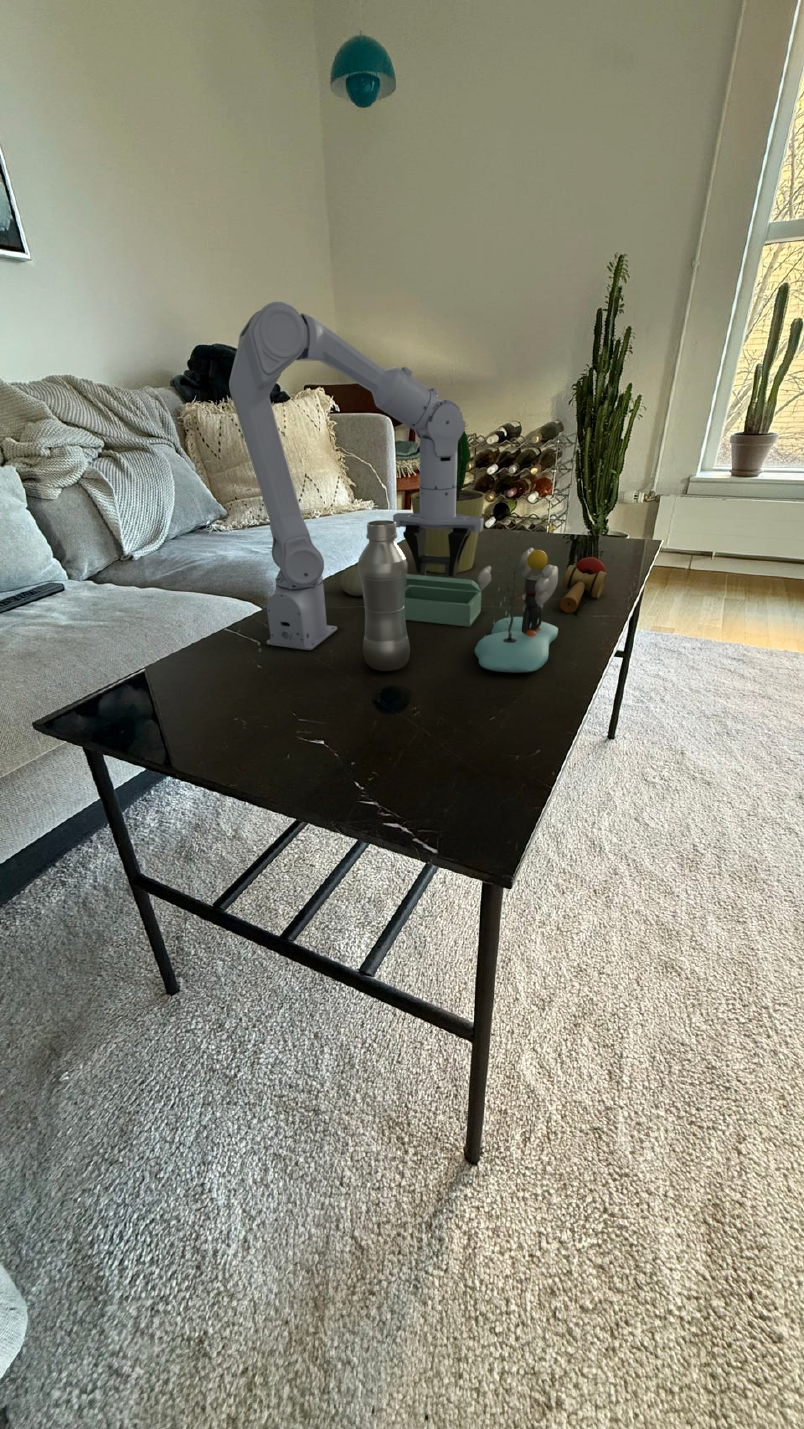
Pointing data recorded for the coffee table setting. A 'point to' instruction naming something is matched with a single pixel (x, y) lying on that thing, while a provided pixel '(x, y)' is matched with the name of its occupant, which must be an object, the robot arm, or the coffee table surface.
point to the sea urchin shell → (351, 581)
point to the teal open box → (442, 605)
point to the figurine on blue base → (521, 621)
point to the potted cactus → (465, 505)
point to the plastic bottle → (384, 598)
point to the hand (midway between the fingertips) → (437, 573)
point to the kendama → (582, 582)
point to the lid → (440, 581)
